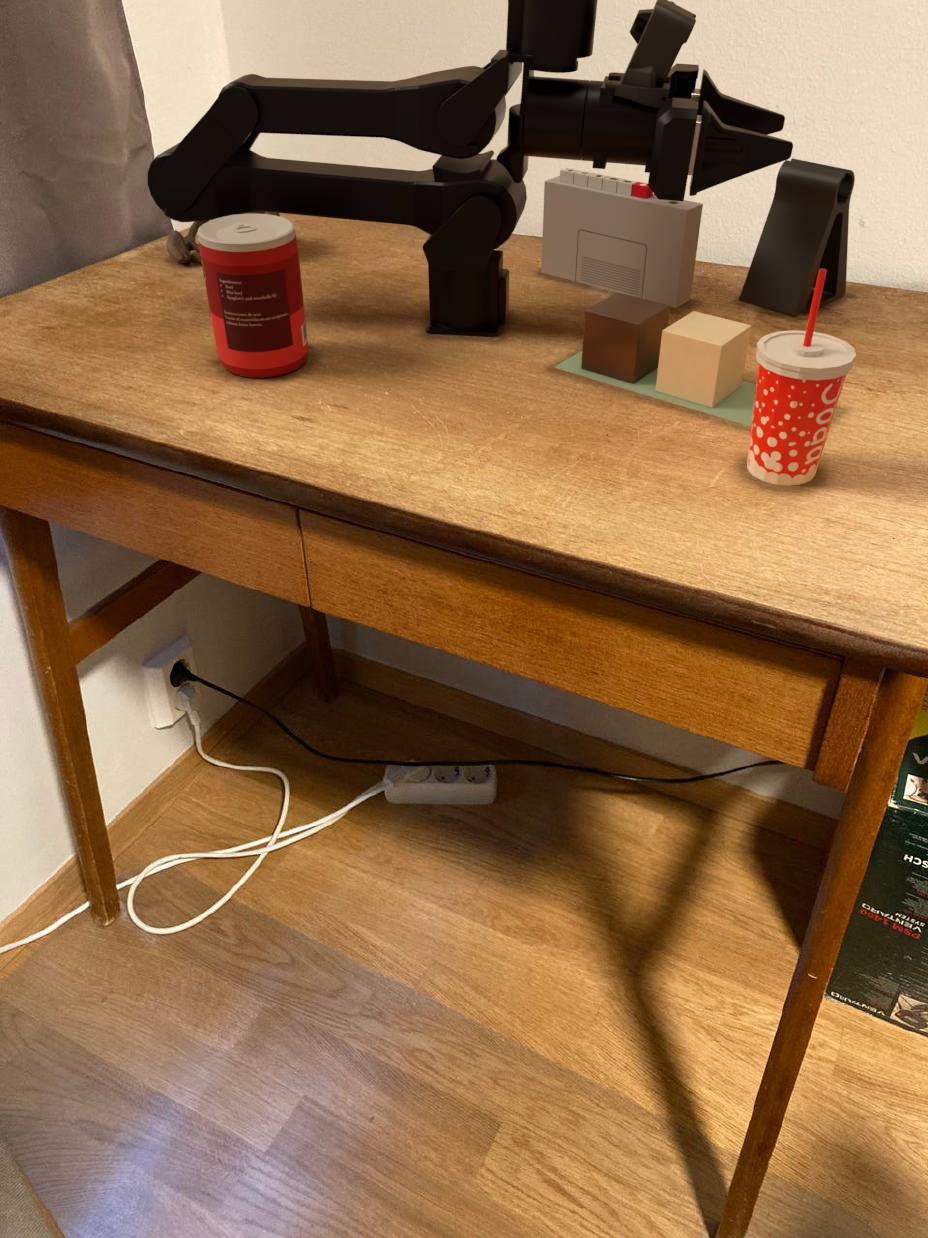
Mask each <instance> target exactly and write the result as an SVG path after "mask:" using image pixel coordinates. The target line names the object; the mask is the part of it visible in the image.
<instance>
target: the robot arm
mask: <svg viewBox="0 0 928 1238" xmlns="http://www.w3.org/2000/svg"><path fill="white" fill-rule="evenodd" d="M597 10H598V0H507V20H506V39H505V40H506V41H505V49H499V50H498V51H497V52H496V53H495V54H494V55H493V56H492V57H491V58H490V62H488V63H487V64H485V65H484V66H482V67H481V66H477V65H467V66H466V65H465V66H461V67H455V68H450V69H444V70H438V71H432V72H429V73H425V74H420V75H416V76H413V77H412V76H411V77H409V78H408V77H407V78H403V79H397V80H392V81H391V80H388V81H387V80H385V81H384V80H358V79H357V80H355V79H326V78H323V79H322V78H293V77H291V78H289V77H266V76H262V75H259V74H255V73H250V74H244V75H242V76H240V77H238V78H236V79H235V80H232V81H231V82H228V83H227V84H226V85H225V86H223V87H222V88H221V90H220V92H219V93H218V96H217V98H216V99H215V101H214V102H213V104H212V105H211V106H210V107H209V109H208V110H207V111H206V112H205V113H204V115H203V116H202V117H201V118H200V119H199V120H198V121H197V122H196V123H195V125H194V126H193V127H192V128H191V129H190V131H189V132H187V134H186V135H185V136H184V137H183V138H182V140H180V142H178V143H176V144H175V145H173V146H171V147H169V148H167V149H166V150H164V151H163V152H161V153H159V154H158V155H156V156H155V158H154V159H153V160H152V161H151V162H150V163H149V167H148V170H147V187H148V191H149V194H150V196H151V197H152V200H153V202H154V203H155V205H156V206H157V207H158V208H159V209H160V210H161V211H162V212H163V214H164V216H165V217H167V218H169V219H170V220H172V221H175V222H179V223H194V222H196V221H206V220H210V221H211V220H213V219H216V218H220V217H224V216H229V215H237V214H243V213H248V212H253V211H264V212H275V213H279V214H284V215H285V214H286V215H298V216H307V217H308V216H309V217H319V218H328V219H329V218H330V219H339V220H350V221H359V222H360V221H361V222H370V223H371V222H372V223H381V224H393V225H403V226H410V227H414V228H417V229H418V230H421V231H423V232H425V233H426V234H428V235H429V236H428V237H427V239H426V240H425V242H424V243H423V244H422V251H423V253H424V256H425V259H426V262H427V270H428V271H427V273H428V299H429V300H428V308H429V309H428V310H429V320H428V322H427V324H426V327H425V333H426V334H428V335H439V336H458V337H459V336H460V337H461V336H462V337H483V338H484V337H485V338H486V337H487V338H497V337H498V336H499V334H500V330H501V327H502V326H503V325H505V324H506V322H507V320H508V315H509V311H510V310H509V309H510V307H509V305H510V270H509V269H508V268H504V250H501V249H498V248H499V247H501V246H502V245H504V244H505V243H506V242H507V241H509V239H510V238H511V237H512V235H513V232H514V231H515V229H516V228H517V225H518V224H519V221H520V219H521V217H522V216H523V215H522V214H523V213H524V211H525V208H526V204H527V200H528V199H527V198H528V197H527V187H526V184H525V181H524V178H525V176H526V174H527V172H528V171H529V170H528V169H529V157H530V158H531V157H532V158H545V159H556V160H571V161H583V162H592V169H597V170H598V169H599V170H606V168H607V164H608V163H609V164H610V163H611V164H621V165H632V166H633V165H634V166H644V173H649V174H648V182H647V184H648V186H649V188H650V189H651V190H652V192H653V194H655V196H656V197H657V198H658V199H659V200H671V201H684V200H685V196H686V191H687V183H688V177H689V176H690V183H689V197H694V196H697V194H698V193H700V192H702V191H705V190H708V189H711V188H713V187H715V186H718V185H721V184H723V183H727V182H728V181H731V180H734V179H736V178H739V177H742V176H745V175H747V174H750V173H753V172H755V171H759V170H761V169H764V168H767V167H770V166H773V165H776V164H779V163H781V162H785V161H786V160H789V159H791V157H792V152H793V149H794V144H793V142H792V141H790V140H787V139H783V138H780V137H777V136H773V134H776V133H779V132H781V131H782V130H783V129H784V127H785V121H786V117H785V115H784V114H782V113H779V112H776V111H773V110H770V109H768V108H764V107H762V106H758V105H756V104H753V103H750V102H746V101H744V100H742V99H741V100H740V99H739V98H735V97H733V96H730V95H727V94H724V93H722V92H721V91H720V89H718V87H717V85H716V84H715V82H714V81H713V79H712V78H711V76H710V75H709V72H708V71H707V70H706V69H705V68H704V69H703V70H702V75H701V82H700V88H696V85H697V79H699V78H698V77H699V72H700V65H699V64H694V63H693V64H692V63H691V64H690V63H675V61H676V59H677V57H678V55H679V53H680V51H681V49H682V47H683V45H684V44H686V43H687V42H688V40H689V38H690V36H691V34H692V32H693V29H694V28H695V26H696V23H697V19H696V18H697V14H695V13H694V12H691V11H689V10H687V9H685V8H683V7H682V6H679V5H677V4H676V3H675V1H670V0H656V2H655V3H654V7H653V8H647V9H639V10H638V12H637V14H636V16H635V18H634V20H633V23H632V25H631V28H630V30H629V34H630V36H631V37H632V39H633V40H634V42H635V43H636V44H637V45H636V46H635V48H634V50H633V53H632V56H631V58H630V60H629V62H628V64H627V67H626V69H625V71H624V72H613V71H612V72H609V73H608V75H605V76H604V79H603V80H592V79H591V80H590V79H576V78H565V77H564V78H563V77H547V76H535V72H543V73H554V74H565V73H566V74H567V73H573V72H577V71H578V70H579V61H578V59H585V58H589V57H591V56H593V52H594V41H595V31H596V20H597ZM521 74H522V78H521V79H522V80H521V84H522V85H521V92H520V93H521V94H520V102H519V103H517V104H514V105H512V106H510V107H509V108H508V120H507V121H508V123H507V142H506V146H504V148H502V149H500V151H499V153H498V154H497V156H496V158H495V159H493V157H494V155H495V151H494V150H488V151H486V152H483V151H484V150H485V148H486V147H488V145H490V143H491V141H492V140H493V139H494V138H495V136H496V134H497V133H498V132H499V130H500V129H501V127H502V125H503V122H504V120H505V117H506V112H507V102H506V101H507V100H506V96H507V95H508V93H509V91H510V90H511V89H512V87H513V85H514V84H515V82H516V81H517V80H518V78H519V77H520V75H521ZM261 134H279V135H280V134H281V135H300V136H301V135H304V136H329V137H330V136H332V137H356V138H378V139H379V138H381V139H387V140H388V139H389V140H391V141H396V142H399V143H403V144H405V145H407V146H410V147H411V148H414V149H416V150H418V151H420V152H425V153H431V154H434V155H439V156H440V157H439V158H438V159H437V160H436V161H435V163H434V164H433V165H432V168H429V169H424V170H411V169H399V168H387V167H376V166H365V165H354V164H353V165H352V164H342V163H331V162H319V161H308V160H307V161H306V160H297V159H286V158H285V159H284V158H274V157H267V156H263V155H260V154H258V153H257V152H255V151H253V150H252V147H253V145H254V144H255V142H256V141H257V139H258V137H259V136H260V135H261ZM482 152H483V153H482Z"/></svg>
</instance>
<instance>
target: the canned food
mask: <svg viewBox="0 0 928 1238" xmlns="http://www.w3.org/2000/svg"><path fill="white" fill-rule="evenodd" d="M297 239H298V238H297V232H296V226H295V224H294V223H293V221H291V220H290V219H288V218H285V217H282V216H281V215H280V216H275V215H269V214H237V215H229V216H224V217H220V218H216V219H213V220H210V221H208V222H207V223H205V224H203V225H202V226H200V227H199V229H198V232H197V242H198V244H199V248H200V254H199V256H200V260H201V268H202V272H203V278H204V284H205V289H206V290H205V291H206V295H207V301H208V308H209V313H210V319H211V325H212V331H213V336H214V343H215V348H216V354H217V358H218V359H219V361H220V363H221V365H222V367H223V368H224V369H225V370H226V371H228V372H229V373H232V374H233V375H237V376H241V377H245V378H256V379H257V378H272V377H273V378H274V377H278V376H282V375H287V374H289V373H291V372H294V371H295V370H297V369H299V368H300V367H302V366H303V365H304V364H305V362H306V361H307V356H308V352H309V340H308V333H307V322H306V313H305V311H306V310H305V302H304V292H303V284H302V282H303V281H302V273H301V264H300V254H299V246H298V240H297Z"/></svg>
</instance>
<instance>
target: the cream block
mask: <svg viewBox="0 0 928 1238" xmlns="http://www.w3.org/2000/svg"><path fill="white" fill-rule="evenodd" d="M751 331H752V324H748V323H745V322H739V321H736V320H732V319H728V318H724V317H719V316H716V315H712V314H708V313H705V312H704V313H703V312H700V311H695V310H692V311H691V312H689V313H688V314H686V315H684V316H683V317H682V318H680V319H678V320H677V321H674V322H673V323H672V324H670V325H668V327H667V328H665V329H664V330H663V331H662V339H661V347H660V356H659V364H658V373H657V381H656V390H655V391H657V392H661V393H664V394H667V395H671V396H674V397H678V398H681V399H684V400H688V401H691V402H694V403H698V404H701V405H704V406H708V407H711V408H713V407H714V406H715V405H717V404H718V403H719V402H721V401H722V400H723V399H725V398H726V397H727V396H728V395H730V394H731V393H732V392H734V391H735V390H736V389H738V388H739V387H740V386H741V385H742V381H743V379H744V372H745V368H746V361H747V356H748V349H749V343H750V339H751V338H750V337H751Z"/></svg>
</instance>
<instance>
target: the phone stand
mask: <svg viewBox="0 0 928 1238" xmlns="http://www.w3.org/2000/svg"><path fill="white" fill-rule="evenodd" d="M855 176H856V175H855V173H854V171H853V170H852V169H847V168H842V167H837V166H833V165H827V164H823V163H818V162H814V161H813V162H812V161H806V160H802V159H797V158H790V160H789V159H787V160H785V161H783V163H782V164H781V166H780V167H779V170H778V173H777V175H776V181H775V189H774V193H773V198H772V202H771V204H770V208H769V211H768V214H767V216H766V219H765V222H764V225H763V228H762V231H761V233H760V237H759V239H758V243H757V245H756V248H755V251H754V254H753V258H752V259H751V263H750V266H749V269H748V272H747V274H746V278H745V281H744V283H743V286H742V288H741V289H742V290H741V292H740V295H739V298H738V301H739V302H742V303H745V304H748V305H752V306H755V307H758V308H762V309H765V310H768V311H772V312H775V313H779V314H781V315H784V316H787V317H788V316H789V317H792V318H796V317H798V316H800V315H804V316H805V315H807V314H810V309H811V305H812V300H813V295H814V290H815V286H816V281H817V276H818V271H819V269H821V268H823V269H826V270H827V272H826V277H825V282H824V286H823V291H822V296H821V300H820V305H819V308H821V307H823V306H825V305H828V304H830V303H832V302H834V301H836V300H839V299H841V298H842V297H844V296H845V295H846V292H847V271H848V269H847V268H848V244H849V223H850V219H849V218H850V204H851V198H852V194H853V190H854V187H855V182H856V181H855V179H856V177H855Z"/></svg>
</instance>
